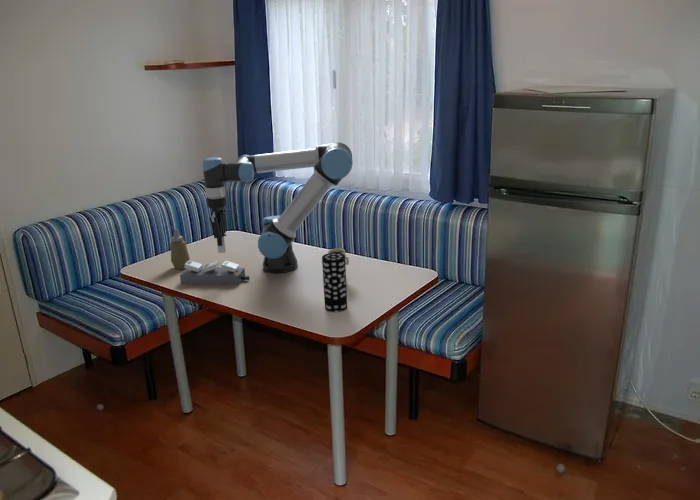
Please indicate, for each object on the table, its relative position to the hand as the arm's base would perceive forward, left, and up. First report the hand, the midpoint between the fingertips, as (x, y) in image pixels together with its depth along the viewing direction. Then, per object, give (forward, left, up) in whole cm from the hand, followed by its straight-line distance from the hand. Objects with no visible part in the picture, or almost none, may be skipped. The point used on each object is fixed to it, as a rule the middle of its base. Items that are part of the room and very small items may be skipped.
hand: (221, 252), depth 241 cm
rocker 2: (+5, 0, -6) cm, 8 cm away
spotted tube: (-51, +24, -13) cm, 58 cm away
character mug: (-48, -1, -13) cm, 50 cm away
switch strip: (+4, 0, -13) cm, 13 cm away
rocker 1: (+13, 0, -6) cm, 15 cm away
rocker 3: (-3, 0, -6) cm, 7 cm away
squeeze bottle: (+25, -14, -13) cm, 32 cm away
